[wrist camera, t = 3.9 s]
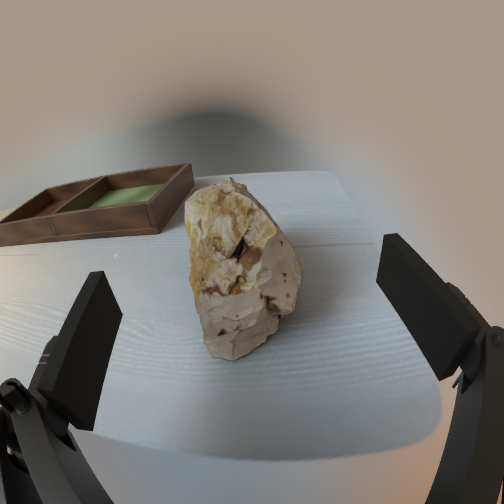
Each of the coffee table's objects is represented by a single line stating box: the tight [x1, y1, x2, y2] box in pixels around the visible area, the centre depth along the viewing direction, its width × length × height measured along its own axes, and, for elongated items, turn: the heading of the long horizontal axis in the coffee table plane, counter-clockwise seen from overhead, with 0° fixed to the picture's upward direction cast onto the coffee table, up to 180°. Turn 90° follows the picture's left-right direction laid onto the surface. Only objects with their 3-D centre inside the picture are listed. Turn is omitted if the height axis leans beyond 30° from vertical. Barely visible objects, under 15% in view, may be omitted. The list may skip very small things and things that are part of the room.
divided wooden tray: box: [0, 163, 195, 247], centre depth 39 cm, size 32×17×4 cm, turn 86°
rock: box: [184, 177, 303, 361], centre depth 20 cm, size 12×7×10 cm, turn 1°
